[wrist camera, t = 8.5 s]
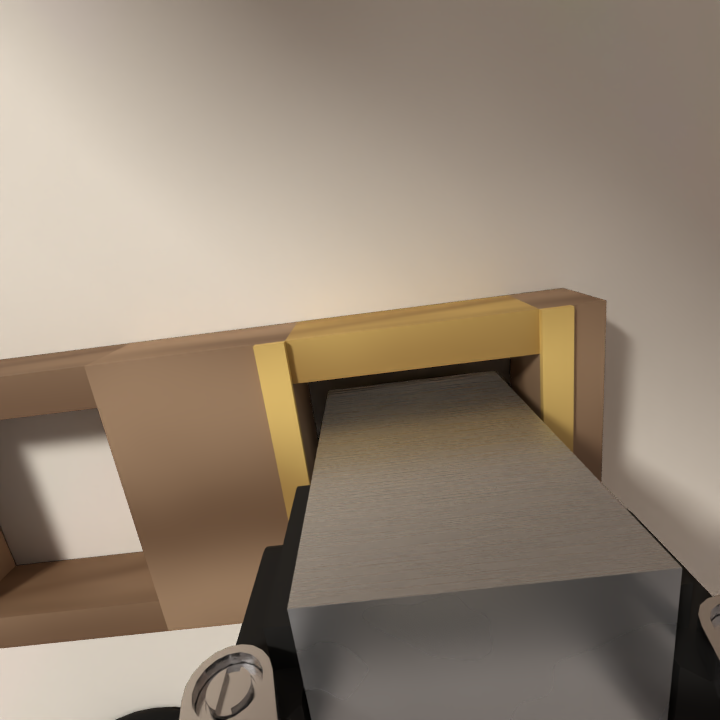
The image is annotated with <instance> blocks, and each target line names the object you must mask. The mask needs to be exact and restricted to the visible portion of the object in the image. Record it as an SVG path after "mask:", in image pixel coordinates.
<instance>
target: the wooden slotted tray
mask: <svg viewBox="0 0 720 720" xmlns="http://www.w3.org/2000/svg"><path fill="white" fill-rule="evenodd" d="M605 333H606V300H603V299H599V298H596V297H592V296H589V295H586V294H582V293H579V292H575V291H572V290H568V289H565V288H560V289H552V290H544V291H536V292H528V293H520V294H513V295H505V296H497V297H489V298H481V299H473V300H465V301H458V302H450V303H442V304H434V305H426V306H418V307H410V308H403V309H395V310H387V311H379V312H371V313H363V314H356V315H348V316H340V317H332V318H324V319H316V320H308V321H301V322H293V323H285V324H277V325H269V326H261V327H254V328H246V329H238V330H230V331H222V332H214V333H206V334H199V335H191V336H183V337H175V338H167V339H159V340H151V341H144V342H136V343H128V344H120V345H112V346H104V347H97V348H89V349H81V350H73V351H65V352H57V353H49V354H42V355H34V356H26V357H18V358H10V359H2V360H0V420H3V419H12V418H20V417H28V416H36V415H44V414H52V413H60V412H69V411H77V410H85V409H93V408H98V411H99V414H100V418H101V421H102V424H103V427H104V430H105V433H106V436H107V440H108V443H109V446H110V449H111V452H112V455H113V458H114V461H115V465H116V468H117V471H118V474H119V477H120V480H121V483H122V487H123V490H124V493H125V496H126V499H127V502H128V505H129V508H130V512H131V515H132V518H133V521H134V524H135V527H136V530H137V534H138V537H139V540H140V543H141V546H142V549H143V552H135V553H126V554H117V555H108V556H99V557H90V558H81V559H72V560H62V561H53V562H44V563H35V564H26V565H17V566H16V565H15V562H14V560H13V558H12V555H11V553H10V550H9V548H8V546H7V543H6V541H5V539H4V536H3V534H2V531H1V529H0V648H9V647H18V646H28V645H38V644H47V643H57V642H67V641H76V640H86V639H95V638H105V637H115V636H124V635H134V634H144V633H153V632H163V631H172V630H182V629H192V628H201V627H211V626H221V625H230V624H240V623H243V620H244V616H245V613H246V609H247V606H248V603H249V599H250V596H251V592H252V589H253V586H254V582H255V579H256V575H257V572H258V569H259V565H260V562H261V558H262V555H263V552H264V550H265V548H266V547H267V546H276V545H283V542H284V538H285V534H286V530H287V526H288V521H289V517H290V513H291V509H292V505H293V501H294V496H295V492H296V488H297V487H298V486H305V485H311V480H312V475H313V470H314V464H315V459H316V454H317V448H318V438H317V432H316V426H315V420H314V414H313V408H312V403H311V397H310V391H309V385H308V382H314V381H322V380H330V379H338V378H346V377H354V376H363V375H371V374H379V373H387V372H395V371H403V370H412V369H420V368H428V367H436V366H444V365H452V364H460V363H469V362H477V361H485V360H493V359H501V358H509V357H510V375H511V388H512V390H513V391H514V392H515V393H516V394H517V395H518V396H519V397H520V398H521V399H522V400H523V401H524V402H525V403H526V404H527V405H528V406H529V407H530V408H531V409H532V411H533V412H534V413H535V414H536V415H537V416H538V417H539V418H540V419H541V420H542V421H543V422H544V423H545V424H546V425H547V426H548V427H549V428H550V429H551V430H552V432H553V433H554V434H555V435H556V436H557V437H558V438H559V439H560V440H561V441H562V442H563V443H564V444H565V445H566V446H567V447H568V448H569V449H570V450H571V451H572V453H573V454H574V455H575V456H576V457H577V458H578V459H579V460H580V461H581V462H582V463H583V464H584V465H585V466H586V467H587V468H588V469H589V470H590V471H591V472H592V474H593V475H594V476H595V477H596V478H597V479H598V480H599V481H600V482H601V471H602V437H603V402H604V367H605Z"/></svg>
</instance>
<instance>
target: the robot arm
mask: <svg viewBox="0 0 720 720" xmlns="http://www.w3.org/2000/svg"><path fill="white" fill-rule="evenodd" d="M310 486H311V485H305V486H298V487H297V488H296V492H295V496H294V501H293V505H292V509H291V513H290V517H289V521H288V526H287V530H286V534H285V538H284V542H283V545H276V546H267V547H266V548H265V550H264V552H263V555H262V558H261V562H260V565H259V569H258V572H257V575H256V579H255V582H254V586H253V589H252V592H251V596H250V599H249V603H248V606H247V609H246V613H245V616H244V620H243V623H242V626H241V630H240V633H239V637H238V640H237V643H236V645H235V646H230V647H227V648H225V649H223V650H221V651H218V652H216V653H215V654H213V655H212V656H211V657H209V658H208V659H207V660H205V661H204V662H203V663H202V664H201V665H200V666H199V667H198V668H197V669H196V671H195V672H194V673H193V674H192V676H191V678H190V679H189V681H188V683H187V685H186V686H185V689H184V693H183V697H182V700H181V709H180V717H179V718H178V719H177V720H311V715H310V711H309V706H308V702H307V697H306V692H305V688H304V683H303V679H302V674H301V670H300V665H299V660H298V656H297V651H296V647H295V642H294V638H293V633H292V628H291V624H290V619H289V615H288V610H287V608H288V602H289V597H290V592H291V587H292V581H293V576H294V571H295V565H296V560H297V555H298V549H299V544H300V539H301V533H302V528H303V523H304V517H305V512H306V507H307V502H308V496H309V491H310ZM627 510H628V509H627ZM628 511H629V510H628ZM629 512H630V511H629ZM630 513H631V515H632V516H633V517H634V518H635V519H636V520H637V521H638V522H639V523H640V524H641V525H642V526H643V527H644V528H645V529H646V530H647V531H648V532H649V533H650V534H651V536H652V537H653V538H654V539H655V540H656V541H657V542H658V543H659V544H660V545H661V546H662V547H663V548H664V549H665V550H666V551H667V552H668V553H669V554H670V555H671V557H672V558H673V559H674V560H675V561H676V562H677V563H678V564H679V565H680V566H681V567H682V577H681V587H680V597H679V607H678V618H677V628H676V638H675V648H674V658H673V669H672V679H671V689H670V699H669V709H668V720H720V595H717V596H714V597H712V595H711V594H710V593H709V592H708V591H707V590H706V589H705V588H704V587H703V586H702V585H701V584H700V583H699V582H698V581H697V580H696V579H695V578H694V577H693V576H692V575H691V574H690V573H689V572H688V571H687V569H686V568H685V567H684V566H683V565H682V564H681V563H680V562H679V561H678V560H677V559H676V558H675V557H674V556H673V555H672V554H671V553H670V552H669V551H668V550H667V549H666V548H665V547H664V546H663V544H662V543H661V542H660V541H659V540H658V539H657V538H656V537H655V536H654V535H653V534H652V533H651V532H650V531H649V530H648V529H647V528H646V527H645V526H644V525H643V524H642V523H641V522H640V521H639V519H638V518H637V517H636V516H635V515H634V514H633V513H632V512H630Z"/></svg>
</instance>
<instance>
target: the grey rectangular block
mask: <svg viewBox="0 0 720 720" xmlns="http://www.w3.org/2000/svg"><path fill="white" fill-rule="evenodd" d="M681 577H682V567H681V566H680V565H679V564H678V563H677V562H676V561H675V560H674V559H673V558H672V557H671V555H670V554H669V553H668V552H667V551H666V550H665V549H664V548H663V547H662V546H661V545H660V544H659V543H658V542H657V541H656V540H655V539H654V538H653V537H652V536H651V534H650V533H649V532H648V531H647V530H646V529H645V528H644V527H643V526H642V525H641V524H640V523H639V522H638V521H637V520H636V519H635V518H634V517H633V516H632V515H631V513H630V512H629V511H628V510H627V509H626V508H625V507H624V506H623V505H622V504H621V503H620V502H619V501H618V500H617V499H616V498H615V497H614V496H613V495H612V494H611V492H610V491H609V490H608V489H607V488H606V487H605V486H604V485H603V484H602V483H601V482H600V481H599V480H598V479H597V478H596V477H595V476H594V475H593V474H592V472H591V471H590V470H589V469H588V468H587V467H586V466H585V465H584V464H583V463H582V462H581V461H580V460H579V459H578V458H577V457H576V456H575V455H574V454H573V453H572V451H571V450H570V449H569V448H568V447H567V446H566V445H565V444H564V443H563V442H562V441H561V440H560V439H559V438H558V437H557V436H556V435H555V434H554V433H553V432H552V430H551V429H550V428H549V427H548V426H547V425H546V424H545V423H544V422H543V421H542V420H541V419H540V418H539V417H538V416H537V415H536V414H535V413H534V412H533V411H532V409H531V408H530V407H529V406H528V405H527V404H526V403H525V402H524V401H523V400H522V399H521V398H520V397H519V396H518V395H517V394H516V393H515V392H514V391H513V390H512V388H511V387H510V386H509V385H508V384H507V383H506V382H505V381H504V380H503V379H502V378H501V377H500V376H499V375H498V374H497V373H496V372H495V371H486V372H478V373H469V374H461V375H453V376H444V377H436V378H428V379H420V380H411V381H403V382H395V383H387V384H378V385H370V386H362V387H353V388H345V389H337V390H329V391H328V395H327V401H326V406H325V411H324V416H323V422H322V427H321V432H320V438H319V443H318V448H317V454H316V459H315V464H314V470H313V475H312V480H311V486H310V491H309V496H308V502H307V507H306V512H305V517H304V523H303V528H302V533H301V539H300V544H299V549H298V555H297V560H296V565H295V571H294V576H293V581H292V587H291V592H290V597H289V602H288V608H287V610H288V615H289V619H290V624H291V628H292V633H293V638H294V642H295V647H296V651H297V656H298V660H299V665H300V670H301V674H302V679H303V683H304V688H305V692H306V697H307V702H308V706H309V711H310V715H311V720H668V709H669V699H670V689H671V679H672V669H673V658H674V648H675V638H676V628H677V618H678V607H679V597H680V587H681Z"/></svg>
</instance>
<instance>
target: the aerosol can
mask: <svg viewBox="0 0 720 720" xmlns="http://www.w3.org/2000/svg"><path fill="white" fill-rule="evenodd" d="M179 717H180V709H177V708H157V709H148V710H143V711H138V712H134V713H131V714H129V715H126V716H124V717H121V718H118V719H116V720H177V719H178V718H179Z"/></svg>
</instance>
